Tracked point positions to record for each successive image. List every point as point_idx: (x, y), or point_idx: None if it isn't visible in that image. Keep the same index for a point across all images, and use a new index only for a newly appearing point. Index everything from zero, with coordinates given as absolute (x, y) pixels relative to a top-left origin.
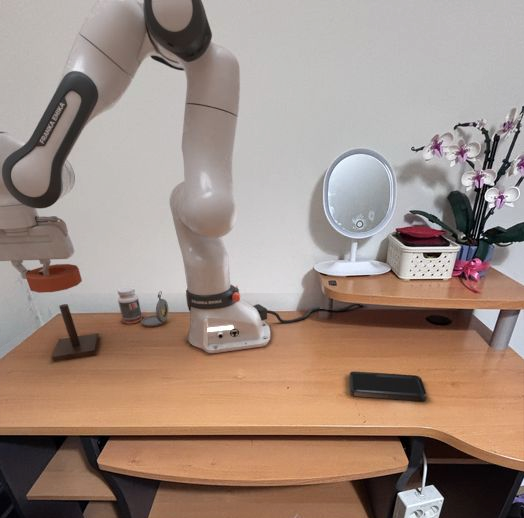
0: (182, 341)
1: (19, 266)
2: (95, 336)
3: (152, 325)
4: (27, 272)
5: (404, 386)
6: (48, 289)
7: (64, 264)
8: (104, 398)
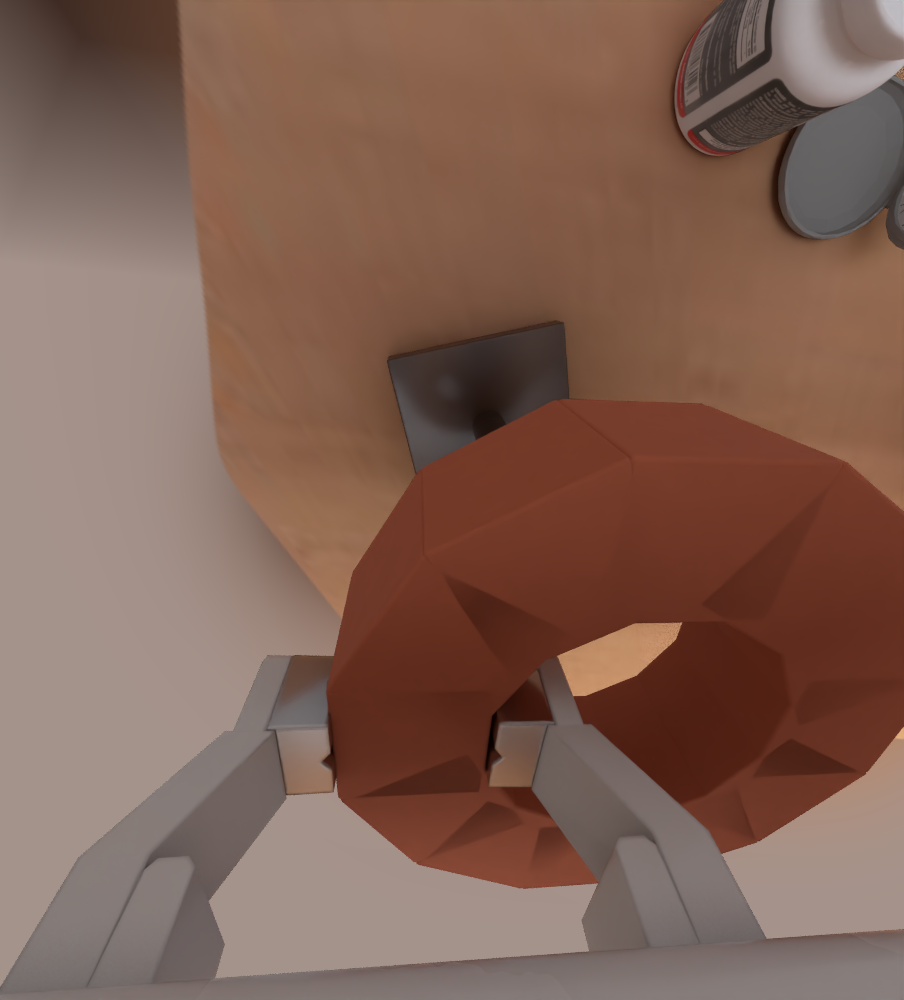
0: (892, 410)
1: (215, 865)
2: (560, 360)
3: (827, 237)
4: (335, 767)
5: None
6: None
7: (784, 492)
8: (621, 671)
